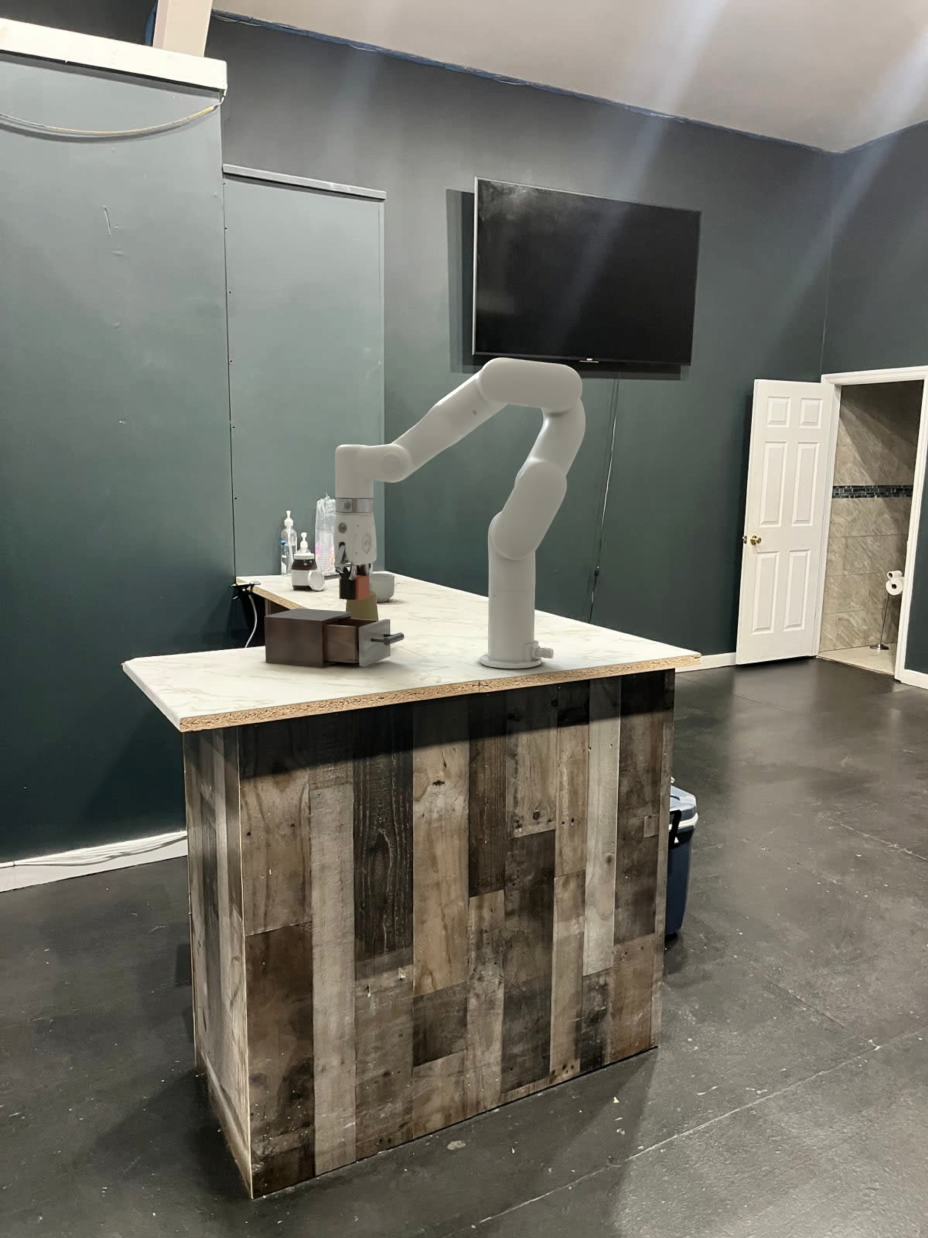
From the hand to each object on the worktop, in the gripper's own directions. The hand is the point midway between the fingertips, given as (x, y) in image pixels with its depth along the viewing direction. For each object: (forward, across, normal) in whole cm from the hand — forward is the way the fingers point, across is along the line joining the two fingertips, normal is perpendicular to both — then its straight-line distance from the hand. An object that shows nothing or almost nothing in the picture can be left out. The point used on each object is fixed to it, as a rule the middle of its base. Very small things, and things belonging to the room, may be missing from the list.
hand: (354, 596), depth 187 cm
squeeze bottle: (+14, +19, +9) cm, 25 cm away
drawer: (+13, 0, -1) cm, 13 cm away
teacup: (+14, +85, +41) cm, 95 cm away
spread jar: (+14, +100, +73) cm, 124 cm away
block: (0, 0, 0) cm, 0 cm away
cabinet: (+14, 0, +11) cm, 18 cm away
